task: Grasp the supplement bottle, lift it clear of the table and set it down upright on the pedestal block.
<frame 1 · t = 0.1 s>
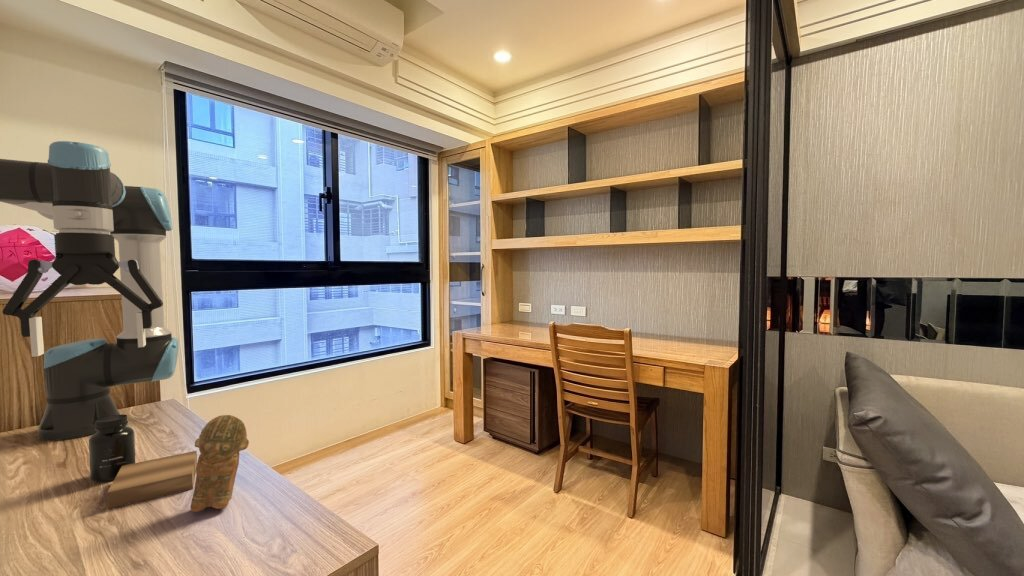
hand: (92, 350, 76), 28 cm above the table, fingers open, 13 cm apart
supplement bottle: (114, 475, 87), on the table
pedestal: (157, 484, 83), on the table
figurine: (223, 503, 76), on the table
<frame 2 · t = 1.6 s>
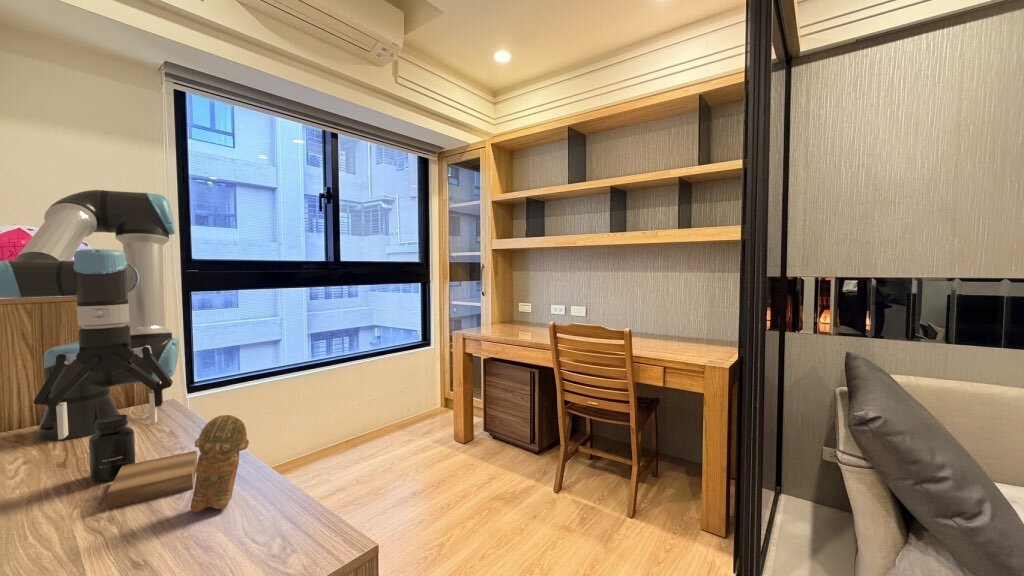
hand: (110, 429, 86), 10 cm above the table, fingers open, 13 cm apart
nothing on the table moved.
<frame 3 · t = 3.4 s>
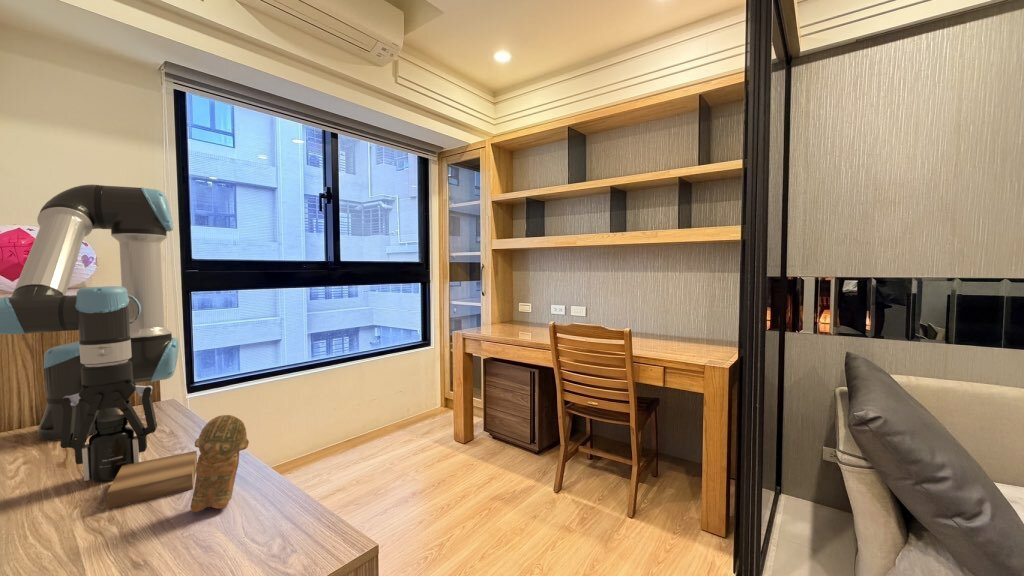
hand: (113, 472, 87), 1 cm above the table, fingers closed on supplement bottle, 7 cm apart
supplement bottle: (114, 475, 87), on the table, touching gripper
everything else where it was.
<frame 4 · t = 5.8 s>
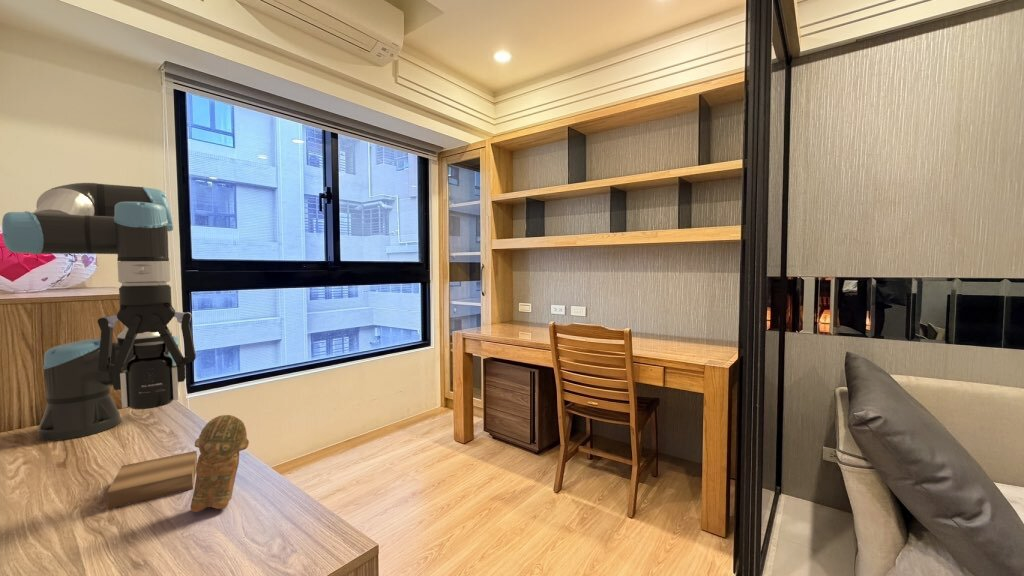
hand: (152, 401, 82), 17 cm above the table, fingers closed on supplement bottle, 7 cm apart
supplement bottle: (152, 405, 82), point 16 cm above the table, touching gripper
everything else where it was.
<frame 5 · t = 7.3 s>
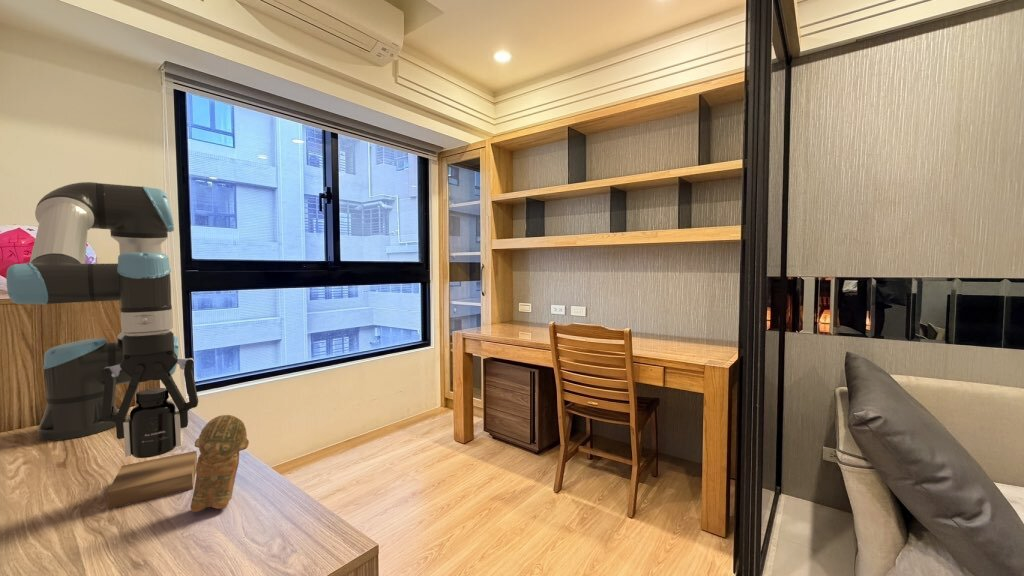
hand: (155, 448, 82), 7 cm above the table, fingers closed on supplement bottle, 7 cm apart
supplement bottle: (155, 452, 82), point 7 cm above the table, touching gripper
everything else where it was.
when the fingers open (5 cm above the table, at t = 8.6 s): supplement bottle drops 1 cm, resting on pedestal.
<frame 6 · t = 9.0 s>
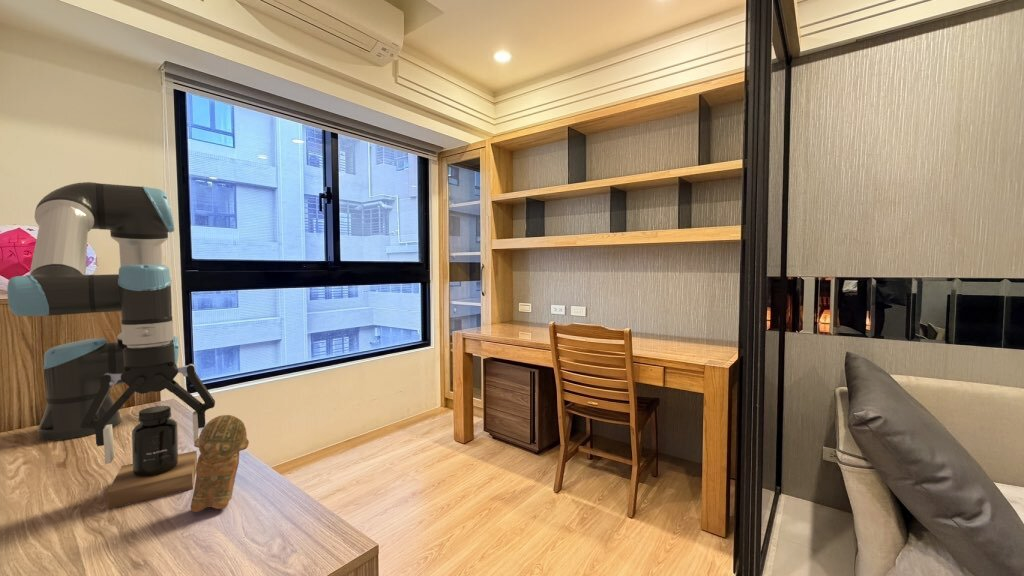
hand: (155, 452, 83), 7 cm above the table, fingers open, 12 cm apart
supplement bottle: (156, 470, 83), point 3 cm above the table, touching pedestal
everything else where it was.
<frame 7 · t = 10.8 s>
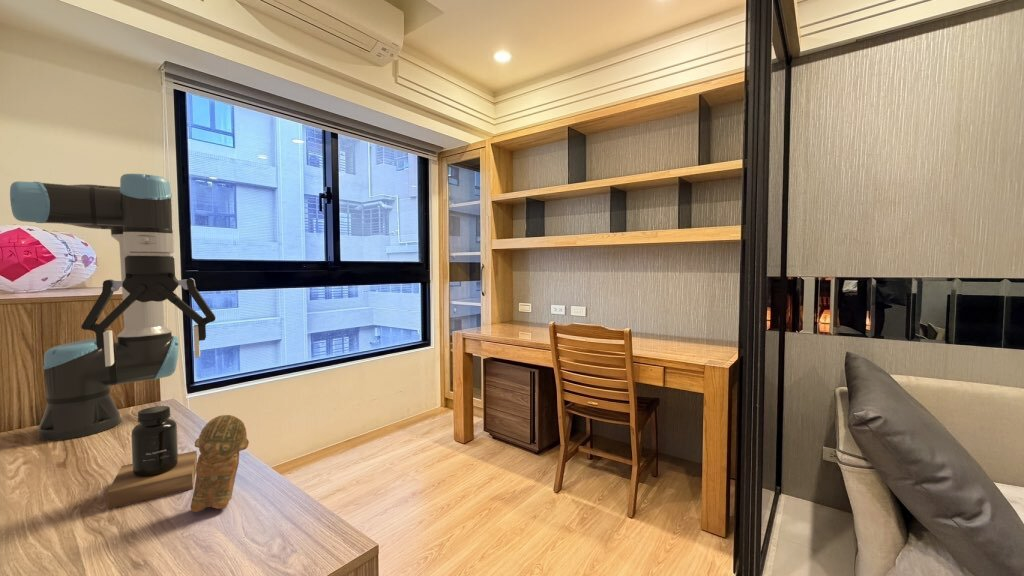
hand: (155, 360, 85), 24 cm above the table, fingers open, 13 cm apart
nothing on the table moved.
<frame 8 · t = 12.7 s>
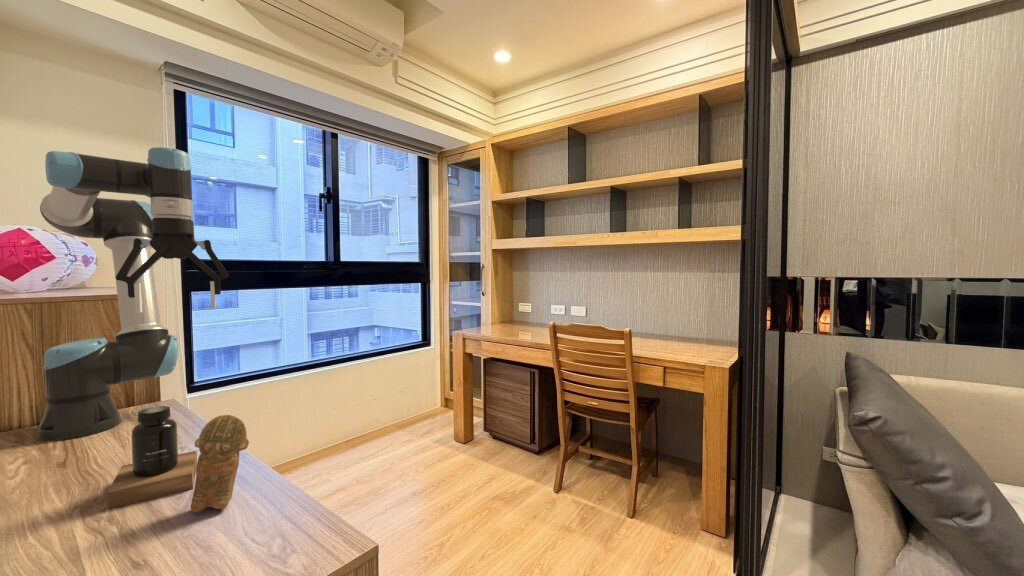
hand: (177, 310, 98), 33 cm above the table, fingers open, 13 cm apart
nothing on the table moved.
at the end: supplement bottle inside the target area on the pedestal (0.0 cm from its centre), point 2.8 cm above the pedestal's base; supplement bottle tilted 0°; the gripper is holding nothing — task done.
